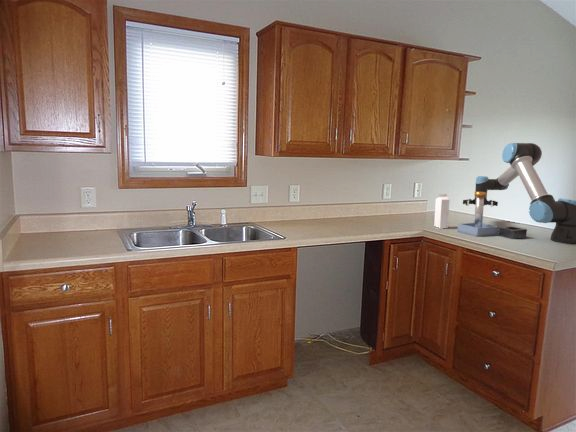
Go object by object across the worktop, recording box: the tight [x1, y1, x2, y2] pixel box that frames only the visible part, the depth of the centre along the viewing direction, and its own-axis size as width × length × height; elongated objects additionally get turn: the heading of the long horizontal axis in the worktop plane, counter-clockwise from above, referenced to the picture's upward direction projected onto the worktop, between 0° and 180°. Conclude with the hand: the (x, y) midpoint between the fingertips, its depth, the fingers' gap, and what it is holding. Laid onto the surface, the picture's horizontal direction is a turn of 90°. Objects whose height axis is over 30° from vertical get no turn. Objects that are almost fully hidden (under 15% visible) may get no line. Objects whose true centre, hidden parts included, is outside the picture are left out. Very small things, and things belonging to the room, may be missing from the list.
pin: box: [473, 191, 486, 228], centre depth 253 cm, size 6×6×24 cm
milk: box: [433, 193, 450, 228], centre depth 270 cm, size 6×6×22 cm
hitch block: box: [498, 226, 528, 240], centre depth 244 cm, size 10×10×5 cm
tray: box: [457, 222, 500, 238], centre depth 254 cm, size 16×16×5 cm
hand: (479, 204), depth 261 cm, fingers open, 13 cm apart
